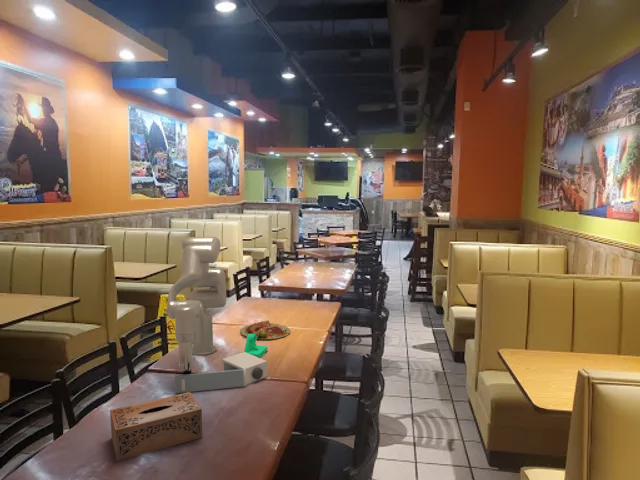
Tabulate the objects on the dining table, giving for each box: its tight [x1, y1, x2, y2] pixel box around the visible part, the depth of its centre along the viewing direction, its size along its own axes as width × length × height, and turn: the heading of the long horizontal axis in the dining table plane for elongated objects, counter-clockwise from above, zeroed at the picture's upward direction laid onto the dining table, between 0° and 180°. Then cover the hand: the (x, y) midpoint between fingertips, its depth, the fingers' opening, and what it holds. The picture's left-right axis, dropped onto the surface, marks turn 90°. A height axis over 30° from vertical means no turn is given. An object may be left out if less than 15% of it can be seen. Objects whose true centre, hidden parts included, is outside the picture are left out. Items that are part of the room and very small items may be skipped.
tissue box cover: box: [109, 392, 203, 462], centre depth 148 cm, size 26×14×10 cm, turn 120°
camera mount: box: [243, 334, 268, 358], centre depth 222 cm, size 12×8×10 cm, turn 165°
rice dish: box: [239, 320, 291, 340], centre depth 256 cm, size 28×28×5 cm
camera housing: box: [221, 351, 268, 386], centre depth 197 cm, size 18×12×7 cm
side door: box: [174, 369, 247, 394], centre depth 183 cm, size 28×2×7 cm, turn 103°
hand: (187, 379), depth 184 cm, fingers closed
